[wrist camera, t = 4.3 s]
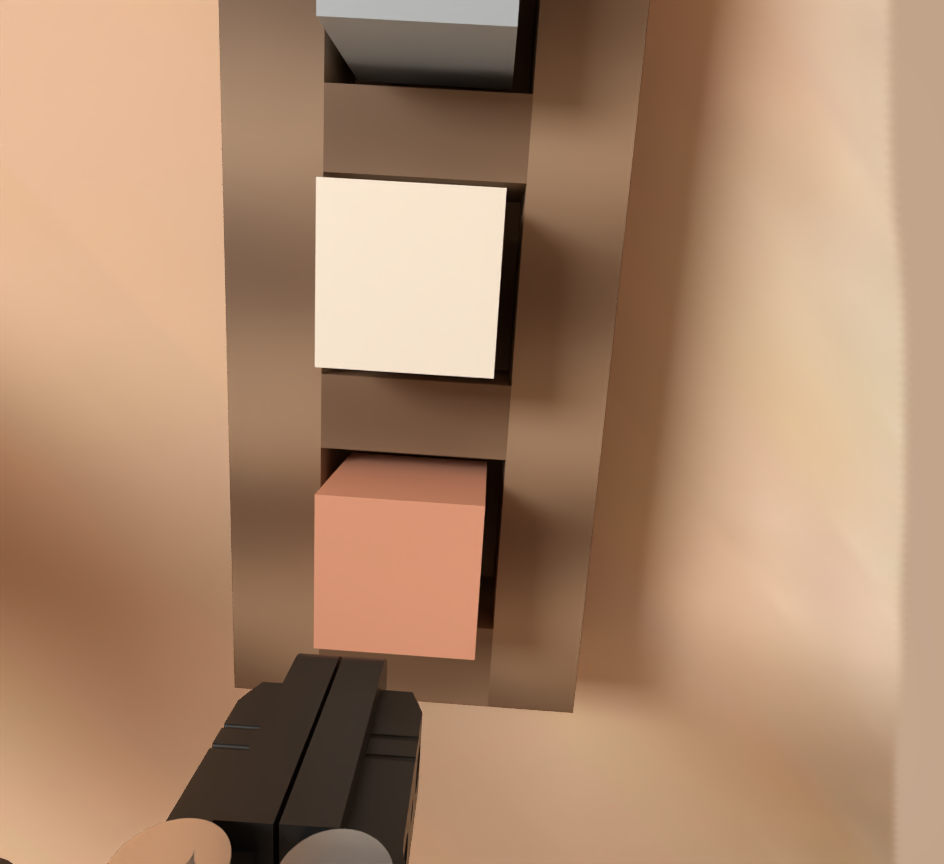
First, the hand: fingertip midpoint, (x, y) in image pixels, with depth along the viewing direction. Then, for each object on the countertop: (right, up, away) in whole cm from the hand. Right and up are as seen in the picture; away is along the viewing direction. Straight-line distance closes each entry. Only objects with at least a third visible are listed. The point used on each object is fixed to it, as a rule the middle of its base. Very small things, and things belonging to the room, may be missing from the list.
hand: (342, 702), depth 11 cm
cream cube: (+1, +9, +7) cm, 11 cm away
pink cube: (+1, +2, +8) cm, 9 cm away
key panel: (+1, +9, +9) cm, 13 cm away
